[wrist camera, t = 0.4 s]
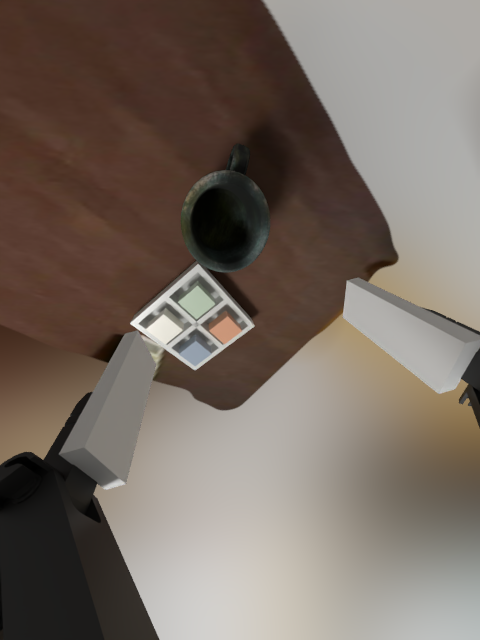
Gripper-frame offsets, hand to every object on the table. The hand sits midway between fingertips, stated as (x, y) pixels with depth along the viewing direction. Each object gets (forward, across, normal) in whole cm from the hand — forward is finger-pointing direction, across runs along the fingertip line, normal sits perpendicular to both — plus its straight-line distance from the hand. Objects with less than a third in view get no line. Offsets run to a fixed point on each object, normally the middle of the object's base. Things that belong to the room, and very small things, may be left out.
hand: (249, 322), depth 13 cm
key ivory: (+25, -13, -12) cm, 31 cm away
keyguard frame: (+28, -7, -13) cm, 32 cm away
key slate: (+25, -9, -19) cm, 33 cm away
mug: (+28, +2, +5) cm, 29 cm away
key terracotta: (+25, -2, -15) cm, 30 cm away
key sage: (+25, -6, -8) cm, 27 cm away
